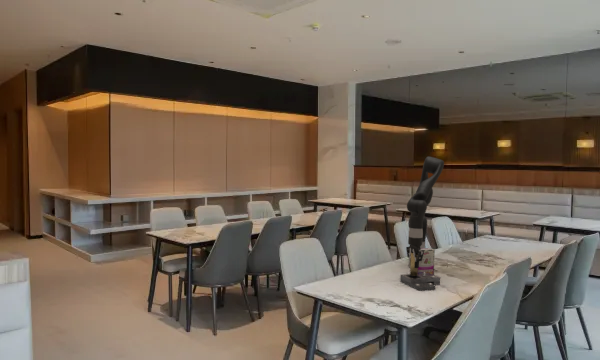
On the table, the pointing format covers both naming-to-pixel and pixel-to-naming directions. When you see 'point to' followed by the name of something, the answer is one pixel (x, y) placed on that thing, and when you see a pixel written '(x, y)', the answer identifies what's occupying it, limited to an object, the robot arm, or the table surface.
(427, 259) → the candy bar box
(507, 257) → the table surface
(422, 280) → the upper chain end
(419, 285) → the lower chain end
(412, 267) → the brass pin
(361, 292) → the table surface
